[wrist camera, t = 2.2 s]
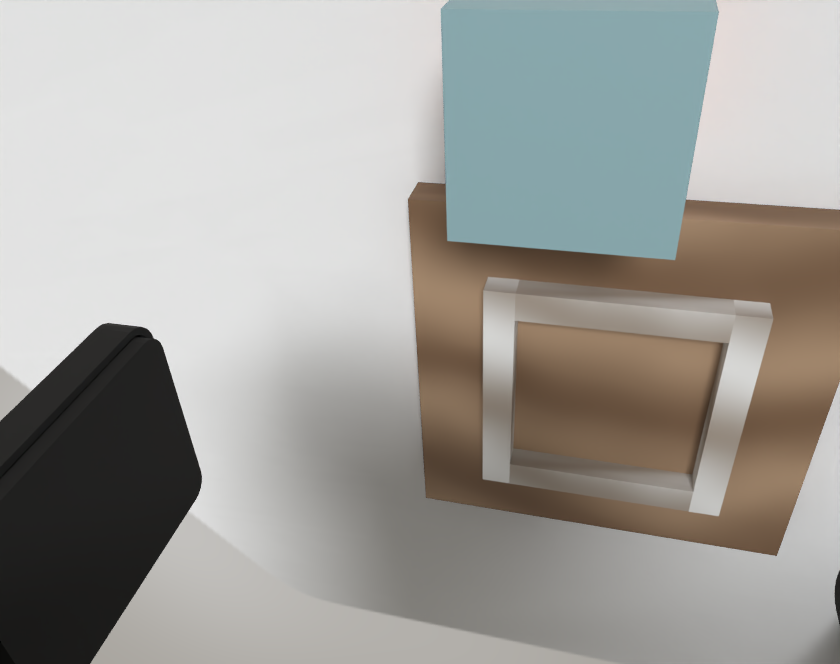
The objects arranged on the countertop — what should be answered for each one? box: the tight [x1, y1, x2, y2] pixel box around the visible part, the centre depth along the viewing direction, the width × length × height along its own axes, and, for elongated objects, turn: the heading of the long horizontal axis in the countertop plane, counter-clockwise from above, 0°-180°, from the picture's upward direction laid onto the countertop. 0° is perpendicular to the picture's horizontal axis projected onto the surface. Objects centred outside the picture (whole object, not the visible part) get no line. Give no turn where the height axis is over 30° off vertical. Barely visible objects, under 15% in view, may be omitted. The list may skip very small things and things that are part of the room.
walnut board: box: [408, 182, 840, 556], centre depth 30 cm, size 16×16×2 cm
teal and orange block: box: [441, 0, 719, 260], centre depth 21 cm, size 6×6×8 cm
